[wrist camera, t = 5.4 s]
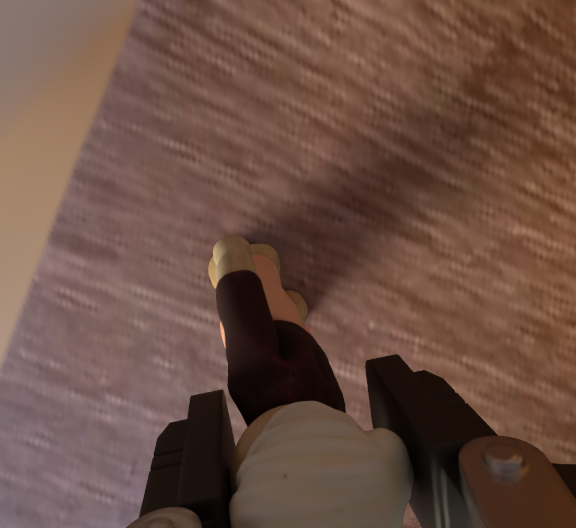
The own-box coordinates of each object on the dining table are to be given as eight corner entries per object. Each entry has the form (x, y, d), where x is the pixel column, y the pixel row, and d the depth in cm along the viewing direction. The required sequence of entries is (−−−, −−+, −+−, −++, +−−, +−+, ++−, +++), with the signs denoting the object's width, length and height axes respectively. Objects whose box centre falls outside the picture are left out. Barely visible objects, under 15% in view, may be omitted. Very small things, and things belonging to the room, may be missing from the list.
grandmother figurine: (162, 260, 18) (16, 493, 6) (242, 197, 18) (267, 299, 6) (285, 400, 20) (373, 797, 8) (359, 344, 20) (568, 661, 8)
